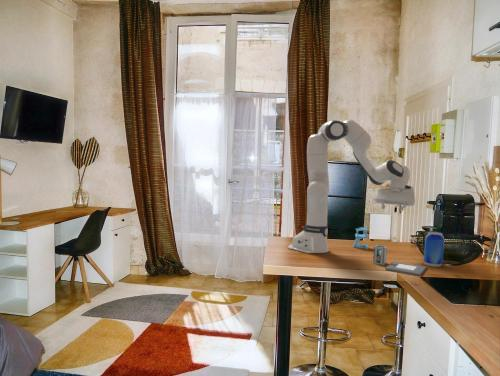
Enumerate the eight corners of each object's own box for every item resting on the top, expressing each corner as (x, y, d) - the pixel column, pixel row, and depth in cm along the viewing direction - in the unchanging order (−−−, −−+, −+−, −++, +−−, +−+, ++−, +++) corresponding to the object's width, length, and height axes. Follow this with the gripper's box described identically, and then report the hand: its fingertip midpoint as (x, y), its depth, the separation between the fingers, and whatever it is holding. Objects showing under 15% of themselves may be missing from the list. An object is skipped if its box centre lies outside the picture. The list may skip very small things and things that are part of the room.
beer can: (424, 265, 191) (426, 233, 190) (423, 261, 199) (425, 230, 198) (443, 268, 188) (445, 235, 187) (441, 263, 196) (443, 232, 195)
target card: (385, 269, 181) (385, 267, 181) (393, 263, 194) (393, 260, 194) (419, 276, 173) (420, 273, 173) (426, 268, 186) (426, 266, 186)
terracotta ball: (375, 263, 193) (374, 257, 193) (377, 261, 195) (375, 255, 195) (381, 262, 191) (379, 256, 191) (383, 260, 193) (381, 254, 194)
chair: (352, 245, 233) (353, 225, 232) (367, 246, 231) (368, 226, 231) (353, 248, 226) (354, 227, 225) (368, 249, 224) (369, 228, 223)
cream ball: (377, 251, 193) (383, 248, 192) (377, 252, 195) (383, 250, 195) (379, 256, 191) (385, 254, 191) (379, 258, 194) (385, 256, 193)
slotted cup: (373, 263, 192) (374, 246, 192) (375, 261, 197) (376, 244, 196) (383, 265, 190) (384, 248, 189) (386, 263, 194) (387, 246, 193)
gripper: (377, 184, 218) (371, 203, 210) (416, 187, 207) (411, 207, 199) (378, 192, 222) (373, 211, 215) (417, 195, 211) (412, 214, 203)
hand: (391, 209), depth 207 cm, fingers open, 8 cm apart
